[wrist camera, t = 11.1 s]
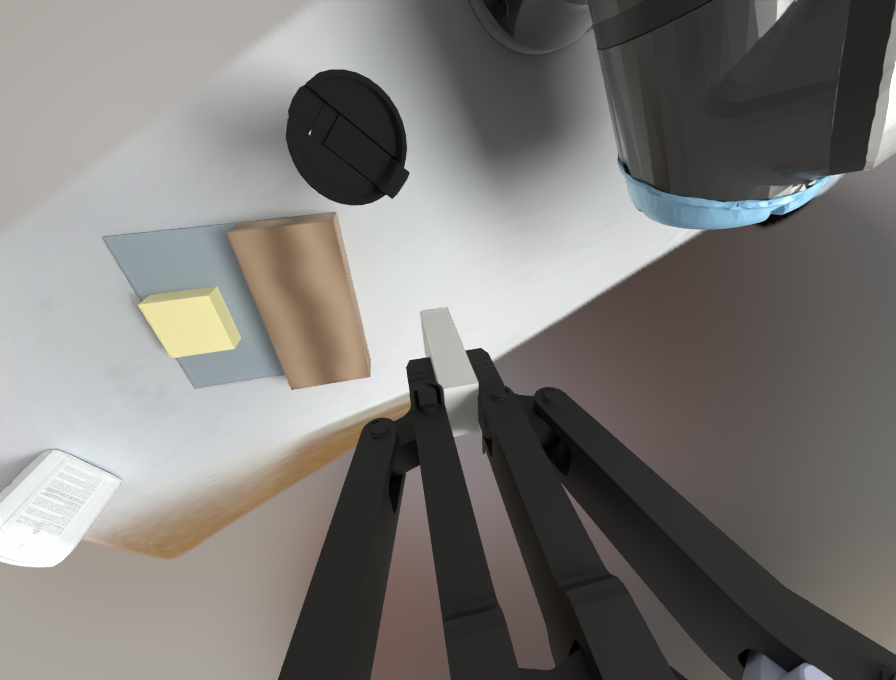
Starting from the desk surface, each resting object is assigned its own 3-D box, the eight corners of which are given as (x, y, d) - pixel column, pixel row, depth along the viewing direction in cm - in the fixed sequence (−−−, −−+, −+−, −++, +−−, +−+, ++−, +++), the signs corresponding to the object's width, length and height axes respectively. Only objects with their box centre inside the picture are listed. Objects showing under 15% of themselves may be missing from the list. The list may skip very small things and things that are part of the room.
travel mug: (372, 183, 37) (372, 234, 20) (313, 139, 34) (257, 155, 17) (405, 130, 35) (437, 136, 18) (346, 78, 32) (319, 27, 15)
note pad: (137, 304, 36) (150, 294, 38) (171, 358, 40) (181, 346, 42) (208, 295, 37) (217, 286, 39) (234, 348, 41) (241, 337, 43)
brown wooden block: (336, 212, 37) (332, 220, 34) (370, 359, 48) (370, 376, 45) (239, 222, 36) (226, 232, 33) (297, 371, 47) (291, 389, 44)
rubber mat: (239, 222, 36) (239, 223, 36) (297, 371, 47) (296, 372, 47) (104, 236, 35) (102, 237, 34) (196, 387, 45) (195, 388, 45)
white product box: (30, 458, 47) (-66, 553, 36) (52, 443, 46) (-39, 535, 36) (109, 491, 52) (44, 581, 42) (129, 478, 52) (69, 566, 41)
